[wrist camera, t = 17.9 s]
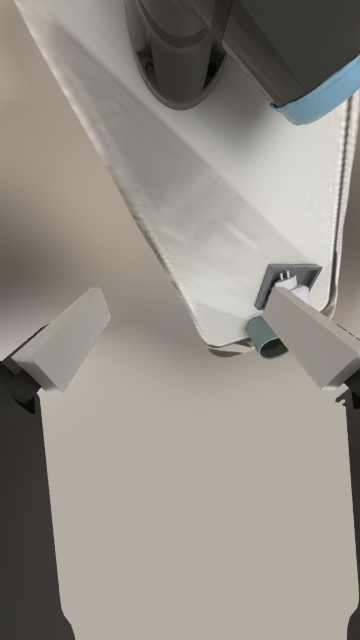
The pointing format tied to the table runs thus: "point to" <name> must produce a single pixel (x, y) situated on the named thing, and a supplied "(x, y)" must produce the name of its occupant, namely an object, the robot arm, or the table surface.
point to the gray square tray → (303, 276)
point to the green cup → (265, 339)
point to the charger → (294, 287)
